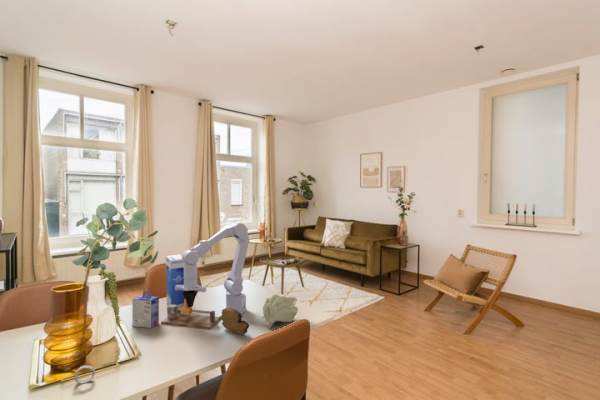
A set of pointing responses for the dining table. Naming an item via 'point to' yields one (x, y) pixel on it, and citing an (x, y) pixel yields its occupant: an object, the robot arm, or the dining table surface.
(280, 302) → the folded clay sculpture
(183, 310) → the orange plastic bracket
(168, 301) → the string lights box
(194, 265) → the robot arm
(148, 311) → the ink cartridge box
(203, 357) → the dining table surface
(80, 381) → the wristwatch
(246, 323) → the wooden carving
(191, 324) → the cord rail
